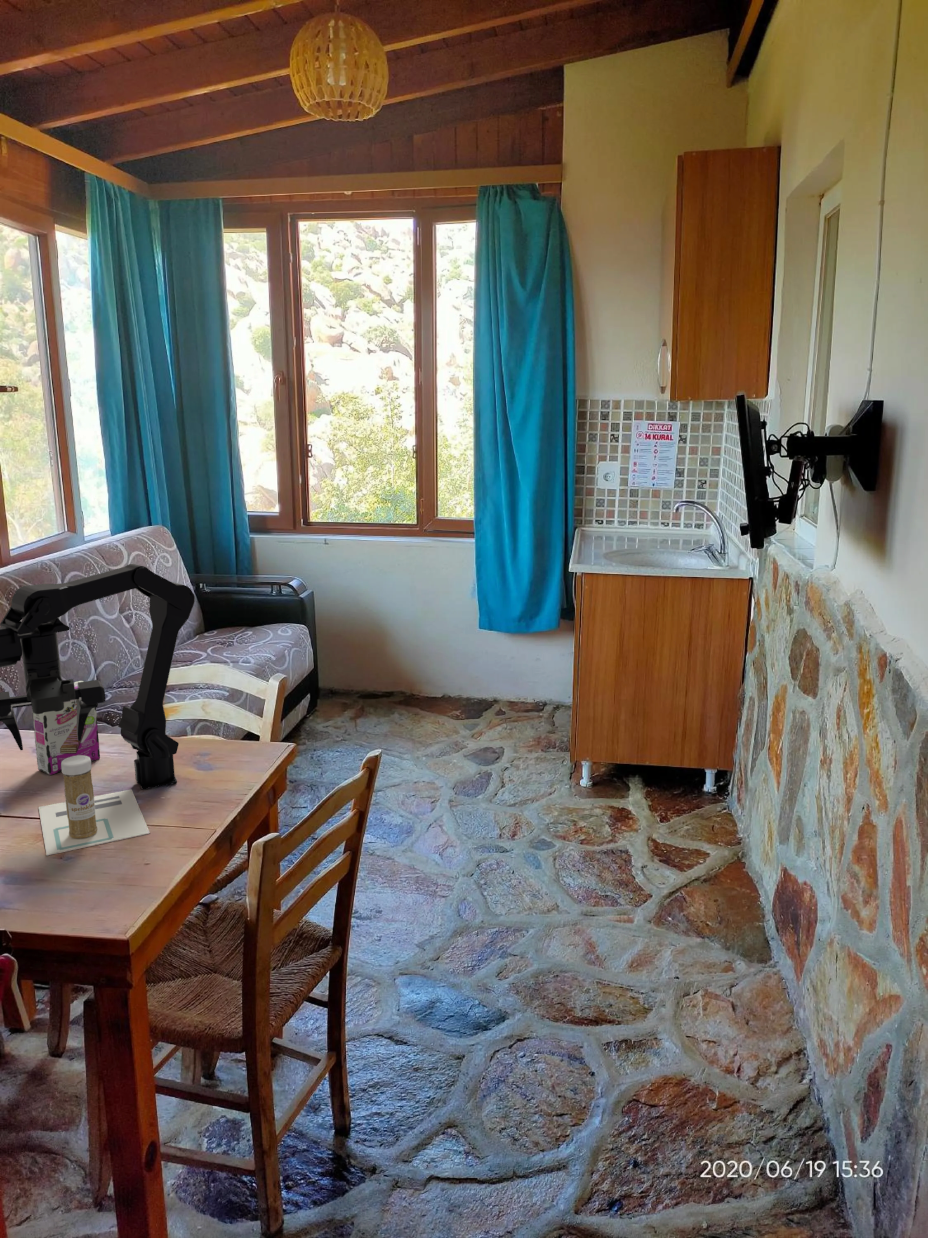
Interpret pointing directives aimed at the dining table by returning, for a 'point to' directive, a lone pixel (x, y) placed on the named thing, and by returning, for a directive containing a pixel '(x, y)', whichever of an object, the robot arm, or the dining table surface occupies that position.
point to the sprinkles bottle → (79, 796)
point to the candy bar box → (64, 736)
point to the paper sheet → (113, 823)
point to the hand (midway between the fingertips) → (50, 745)
